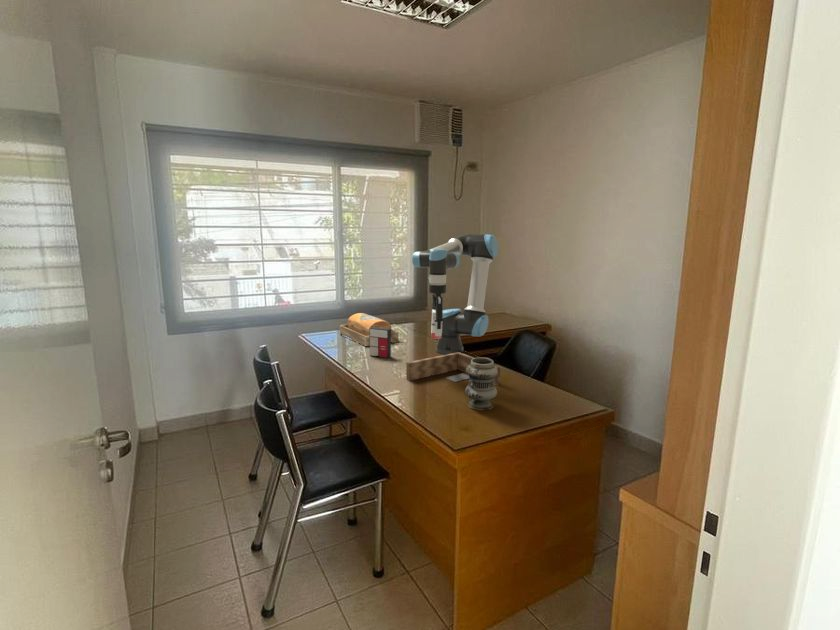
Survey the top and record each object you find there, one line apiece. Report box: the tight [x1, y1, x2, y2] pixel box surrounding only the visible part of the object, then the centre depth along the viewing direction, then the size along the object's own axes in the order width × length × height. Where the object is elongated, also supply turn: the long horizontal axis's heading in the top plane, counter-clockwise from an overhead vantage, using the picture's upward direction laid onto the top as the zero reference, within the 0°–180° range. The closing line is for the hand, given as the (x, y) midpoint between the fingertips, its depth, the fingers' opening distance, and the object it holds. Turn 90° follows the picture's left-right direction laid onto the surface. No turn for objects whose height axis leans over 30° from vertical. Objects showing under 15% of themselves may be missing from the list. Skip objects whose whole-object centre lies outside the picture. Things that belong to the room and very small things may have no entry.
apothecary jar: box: [464, 356, 498, 411], centre depth 165 cm, size 12×12×18 cm
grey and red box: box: [369, 327, 392, 359], centre depth 228 cm, size 11×4×15 cm, turn 68°
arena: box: [405, 352, 501, 387], centre depth 191 cm, size 30×28×8 cm
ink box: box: [430, 309, 443, 339], centre depth 197 cm, size 9×5×12 cm, turn 179°
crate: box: [339, 323, 399, 347], centre depth 267 cm, size 22×35×6 cm, turn 35°
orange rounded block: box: [347, 312, 393, 336], centre depth 265 cm, size 30×16×14 cm, turn 33°
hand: (436, 333), depth 198 cm, fingers closed on ink box, 9 cm apart
